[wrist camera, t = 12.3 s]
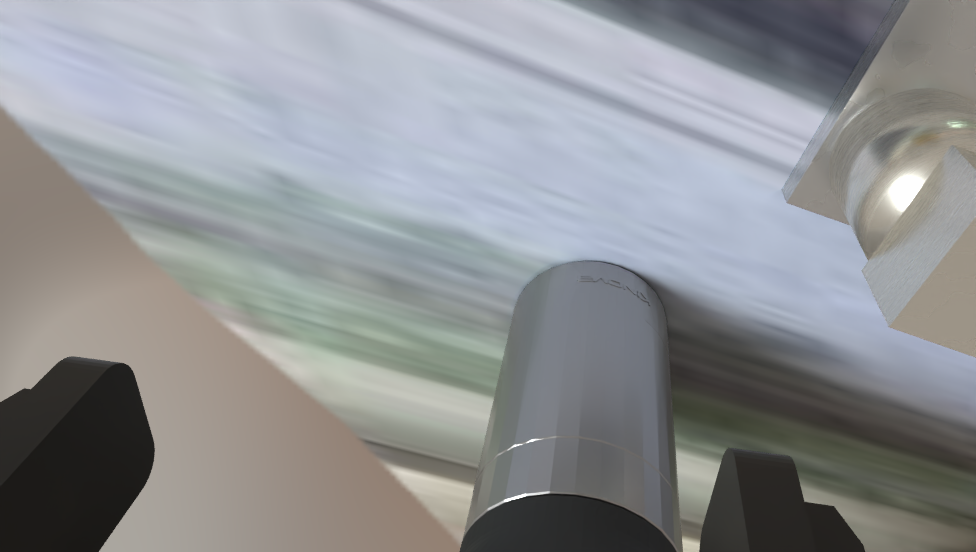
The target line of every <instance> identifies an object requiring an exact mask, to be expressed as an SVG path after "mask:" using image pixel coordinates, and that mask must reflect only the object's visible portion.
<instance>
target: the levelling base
mask: <svg viewBox="0 0 976 552" xmlns="http://www.w3.org/2000/svg"><path fill="white" fill-rule="evenodd" d="M782 192H783V195H784V197H785V200H786V203H789V204H791V205H794V206H797V207H800V208H803V209H805V210H808V211H811V212H814V213H817V214H820V215H822V216H825V217H828V218H831V219H834V220H837V221H839V222H842V223H845V224H848V225H850V226H851V228H852V230H853V232H854V234H855V236H856V238H857V240H858V242H859V244H860V246H861V247H862V249H863V251H864V253H865V255H866V257H867V259H868V262H867V263H866V265H865V266H864V267H863V269H862V270H861V271H862V273H863V275H864V277H865V279H866V281H867V283H868V285H869V287H870V289H871V291H872V294H873V296H874V298H875V300H876V302H877V304H878V306H879V308H880V310H881V312H882V314H883V316H884V318H885V320H886V322H887V324H888V326H889V327H890V328H893V329H896V330H899V331H902V332H904V333H907V334H910V335H913V336H916V337H919V338H922V339H924V340H927V341H930V342H933V343H936V344H939V345H942V346H944V347H947V348H950V349H953V350H956V351H959V352H962V353H964V354H967V355H970V356H973V357H976V0H895V1H894V3H893V4H892V6H891V8H890V9H889V11H888V13H887V14H886V16H885V18H884V20H883V21H882V23H881V25H880V26H879V28H878V30H877V31H876V33H875V35H874V36H873V38H872V40H871V41H870V43H869V45H868V46H867V48H866V50H865V51H864V53H863V55H862V56H861V58H860V60H859V61H858V63H857V65H856V66H855V68H854V70H853V71H852V73H851V75H850V76H849V78H848V80H847V81H846V83H845V85H844V86H843V88H842V90H841V91H840V93H839V95H838V96H837V98H836V100H835V101H834V103H833V105H832V106H831V108H830V110H829V111H828V113H827V115H826V116H825V118H824V120H823V121H822V123H821V125H820V126H819V128H818V130H817V131H816V133H815V135H814V136H813V138H812V140H811V141H810V143H809V145H808V146H807V148H806V150H805V151H804V153H803V155H802V156H801V158H800V160H799V161H798V163H797V165H796V166H795V168H794V170H793V171H792V173H791V175H790V176H789V178H788V180H787V181H786V183H785V185H784V186H783V188H782Z"/></svg>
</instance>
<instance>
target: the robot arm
mask: <svg viewBox="0 0 976 552" xmlns="http://www.w3.org/2000/svg"><path fill="white" fill-rule="evenodd" d="M154 452H155V448H154V441H153V437H152V434H151V430H150V427H149V424H148V420H147V416H146V413H145V410H144V406H143V403H142V400H141V396H140V392H139V389H138V386H137V382H136V379H135V375H134V373H133V371H132V370H131V368H130V367H129V366H128V365H126V364H124V363H118V362H110V361H103V360H96V359H88V358H81V357H67V358H65V359H63V360H61V361H60V362H58V363H57V364H56V365H55V366H54V367H53V368H52V369H51V370H50V371H49V372H48V373H47V374H46V375H45V376H44V377H43V378H42V379H41V380H40V381H39V382H38V383H37V384H36V385H35V386H34V387H33V388H32V389H22V390H21V391H19V392H17V393H16V394H14V395H12V396H10V397H9V398H7V399H5V400H4V401H2V402H0V552H99V550H100V549H101V547H102V546H103V545H104V543H105V542H106V540H107V539H108V537H109V536H110V535H111V533H112V532H113V530H114V529H115V527H116V526H117V525H118V523H119V522H120V520H121V519H122V517H123V516H124V515H125V513H126V512H127V510H128V509H129V508H130V506H131V505H132V503H133V502H134V500H135V499H136V498H137V496H138V495H139V493H140V492H141V490H142V489H143V487H144V486H145V484H146V482H147V480H148V478H149V475H150V473H151V470H152V466H153V462H154ZM460 552H683V546H682V532H681V518H680V508H679V493H678V479H677V464H676V450H675V435H674V421H673V406H672V392H671V378H670V360H669V345H668V331H667V319H666V315H665V311H664V307H663V305H662V303H661V301H660V299H659V298H658V296H657V294H656V293H655V292H654V291H653V290H652V288H651V287H650V286H649V285H648V284H647V283H646V282H645V281H643V280H642V279H641V278H639V277H638V276H636V275H635V274H634V273H632V272H630V271H627V270H625V269H623V268H621V267H619V266H615V265H611V264H607V263H603V262H592V261H580V262H571V263H566V264H563V265H559V266H556V267H553V268H551V269H549V270H547V271H545V272H543V273H542V274H540V275H538V276H537V277H536V278H535V279H533V280H532V281H531V282H530V283H529V284H528V285H527V286H526V287H525V289H524V290H523V292H522V293H521V294H520V296H519V298H518V300H517V303H516V306H515V308H514V312H513V317H512V321H511V326H510V330H509V335H508V339H507V344H506V347H505V351H504V356H503V360H502V365H501V369H500V374H499V378H498V383H497V387H496V392H495V396H494V401H493V405H492V410H491V414H490V418H489V423H488V427H487V432H486V436H485V441H484V445H483V450H482V454H481V459H480V463H479V468H478V472H477V477H476V481H475V486H474V490H473V496H472V501H471V505H470V509H469V514H468V518H467V523H466V527H465V532H464V536H463V541H462V544H461V548H460ZM699 552H865V549H864V546H863V544H862V543H861V541H860V540H859V539H858V538H857V536H856V535H855V534H854V532H853V531H852V530H851V528H850V527H849V526H848V524H847V523H846V522H845V520H844V519H843V518H842V516H841V515H840V514H839V512H838V511H837V510H836V508H835V507H834V506H829V505H822V504H815V503H808V502H804V498H803V494H802V490H801V486H800V482H799V478H798V474H797V470H796V467H795V464H794V461H793V460H792V458H791V457H790V456H785V455H778V454H771V453H763V452H756V451H749V450H741V449H734V448H728V449H727V450H726V451H725V453H724V455H723V458H722V462H721V465H720V469H719V472H718V475H717V479H716V482H715V486H714V489H713V493H712V496H711V500H710V503H709V507H708V510H707V513H706V517H705V520H704V524H703V528H702V533H701V540H700V551H699Z"/></svg>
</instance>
